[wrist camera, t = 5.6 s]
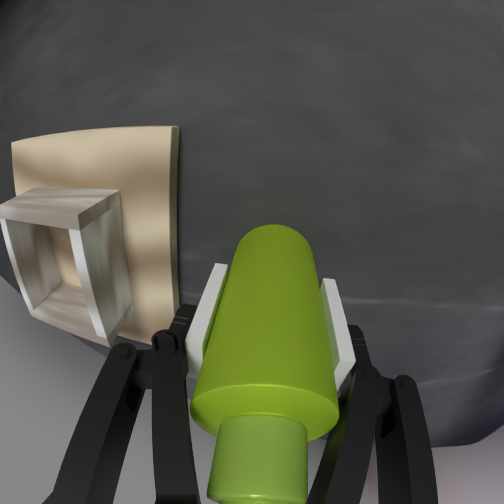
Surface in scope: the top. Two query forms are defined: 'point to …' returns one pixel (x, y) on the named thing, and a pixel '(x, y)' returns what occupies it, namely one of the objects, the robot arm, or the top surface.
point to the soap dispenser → (266, 372)
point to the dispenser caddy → (97, 230)
